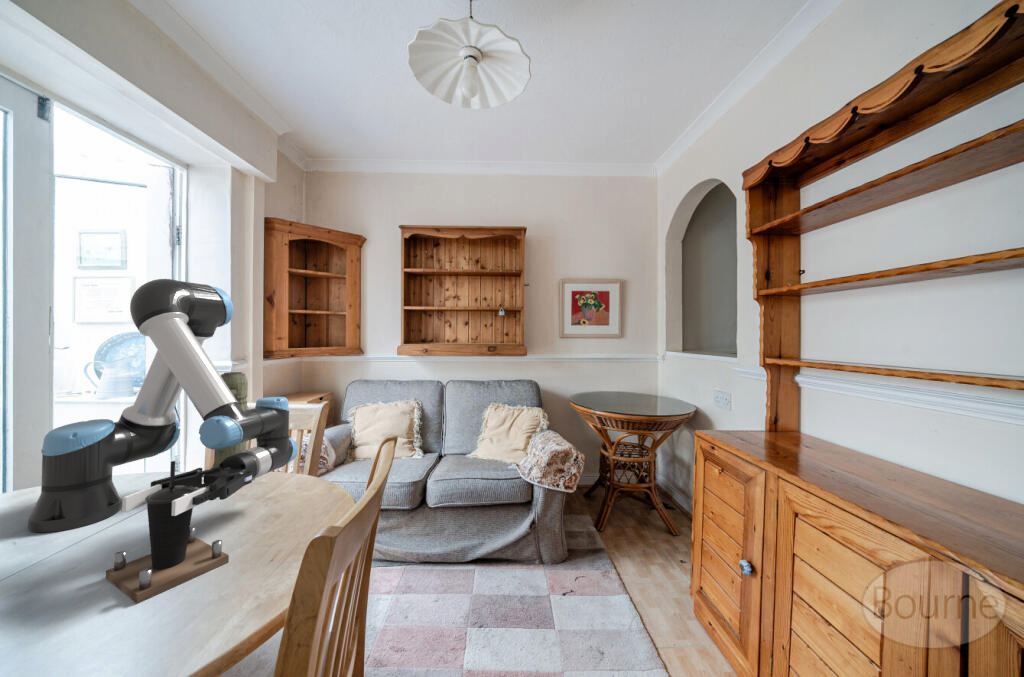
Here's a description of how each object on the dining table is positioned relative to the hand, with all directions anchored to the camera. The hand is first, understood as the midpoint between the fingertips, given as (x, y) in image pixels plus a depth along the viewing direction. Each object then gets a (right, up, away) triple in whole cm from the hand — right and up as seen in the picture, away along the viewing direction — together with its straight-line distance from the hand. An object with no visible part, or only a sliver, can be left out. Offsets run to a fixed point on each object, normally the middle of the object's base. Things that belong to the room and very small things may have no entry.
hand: (148, 506), depth 70 cm
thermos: (-20, -14, +47) cm, 53 cm away
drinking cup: (0, -13, +4) cm, 14 cm away
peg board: (0, -15, +4) cm, 15 cm away
